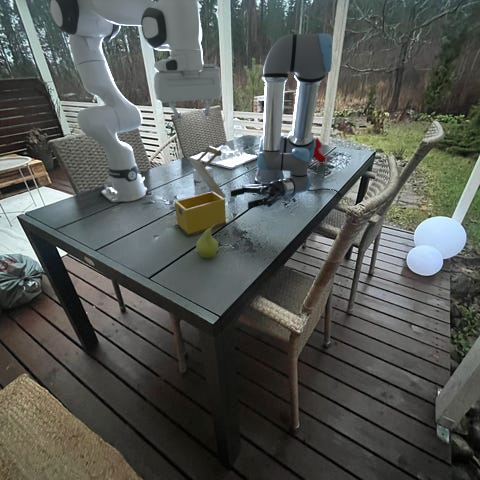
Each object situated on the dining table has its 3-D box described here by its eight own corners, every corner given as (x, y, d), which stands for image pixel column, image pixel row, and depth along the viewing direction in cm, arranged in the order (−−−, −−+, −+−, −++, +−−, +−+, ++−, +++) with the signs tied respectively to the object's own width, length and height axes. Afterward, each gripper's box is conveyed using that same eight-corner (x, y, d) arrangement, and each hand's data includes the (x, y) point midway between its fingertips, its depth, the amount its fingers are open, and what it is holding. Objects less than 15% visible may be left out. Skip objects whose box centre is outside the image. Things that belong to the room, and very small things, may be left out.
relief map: (231, 168, 161) (231, 160, 158) (189, 159, 179) (189, 151, 176) (257, 158, 179) (257, 150, 176) (217, 150, 197) (216, 142, 194)
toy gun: (330, 157, 167) (317, 136, 163) (329, 159, 164) (317, 138, 160) (304, 172, 177) (292, 153, 173) (303, 174, 174) (291, 155, 170)
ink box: (208, 188, 135) (206, 165, 129) (214, 191, 132) (213, 167, 126) (194, 193, 130) (191, 169, 124) (200, 196, 127) (198, 172, 121)
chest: (188, 237, 97) (185, 210, 92) (178, 226, 104) (174, 201, 98) (226, 224, 105) (225, 199, 99) (214, 215, 111) (212, 191, 106)
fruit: (195, 252, 89) (191, 220, 82) (216, 247, 91) (214, 216, 85) (200, 264, 84) (196, 230, 77) (223, 258, 86) (221, 225, 79)
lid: (199, 164, 87) (219, 145, 88) (186, 158, 93) (205, 140, 94) (224, 198, 99) (241, 181, 100) (211, 190, 105) (227, 174, 106)
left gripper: (214, 63, 83) (217, 112, 91) (148, 63, 74) (157, 118, 81) (224, 63, 79) (226, 115, 86) (155, 63, 69) (164, 121, 77)
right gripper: (264, 172, 126) (224, 181, 117) (301, 189, 108) (257, 201, 99) (263, 187, 130) (224, 197, 121) (298, 206, 112) (256, 220, 103)
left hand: (192, 117), depth 84 cm, fingers open, 8 cm apart
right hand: (239, 199), depth 110 cm, fingers open, 13 cm apart
